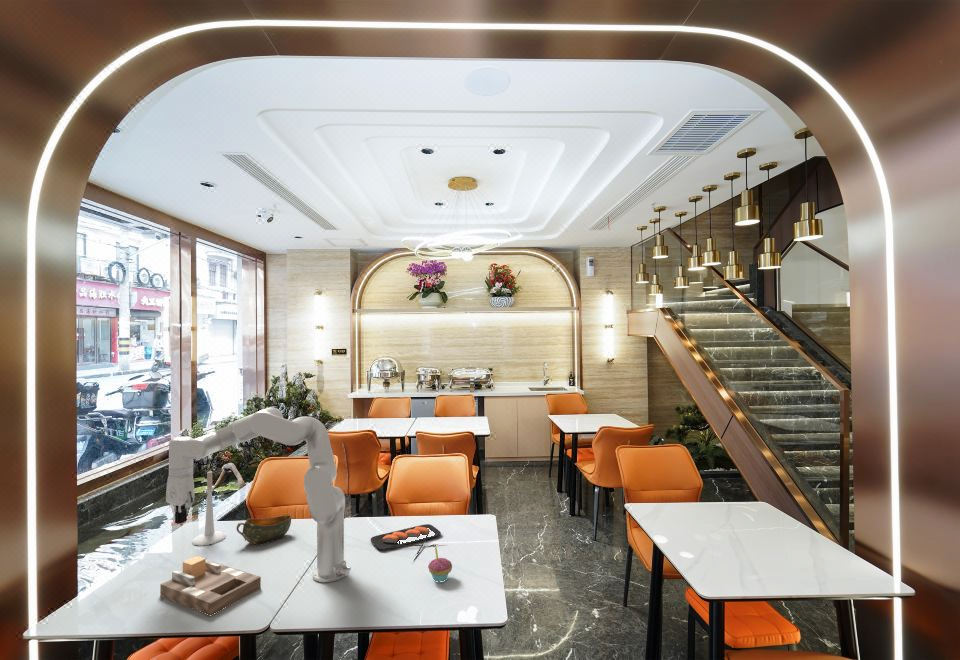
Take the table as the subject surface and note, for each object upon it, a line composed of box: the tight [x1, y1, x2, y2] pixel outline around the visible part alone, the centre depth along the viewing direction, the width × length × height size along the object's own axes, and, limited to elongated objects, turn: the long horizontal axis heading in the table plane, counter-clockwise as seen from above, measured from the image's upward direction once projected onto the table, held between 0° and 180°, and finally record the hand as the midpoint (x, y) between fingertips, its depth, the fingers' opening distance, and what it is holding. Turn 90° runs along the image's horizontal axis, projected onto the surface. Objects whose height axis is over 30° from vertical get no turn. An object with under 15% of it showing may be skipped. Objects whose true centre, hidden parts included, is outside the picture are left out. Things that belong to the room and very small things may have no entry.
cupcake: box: [427, 544, 453, 582], centre depth 165 cm, size 9×8×12 cm
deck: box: [159, 559, 262, 616], centre depth 158 cm, size 27×18×6 cm, turn 64°
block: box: [182, 555, 207, 578], centre depth 162 cm, size 5×5×5 cm
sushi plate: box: [370, 523, 442, 555], centre depth 193 cm, size 29×30×4 cm
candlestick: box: [191, 470, 227, 547], centre depth 201 cm, size 13×13×30 cm
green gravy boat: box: [236, 514, 292, 546], centre depth 200 cm, size 13×20×10 cm, turn 100°
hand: (180, 522), depth 166 cm, fingers closed
